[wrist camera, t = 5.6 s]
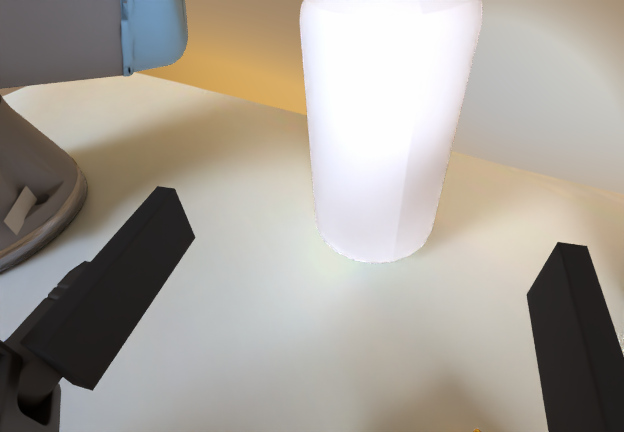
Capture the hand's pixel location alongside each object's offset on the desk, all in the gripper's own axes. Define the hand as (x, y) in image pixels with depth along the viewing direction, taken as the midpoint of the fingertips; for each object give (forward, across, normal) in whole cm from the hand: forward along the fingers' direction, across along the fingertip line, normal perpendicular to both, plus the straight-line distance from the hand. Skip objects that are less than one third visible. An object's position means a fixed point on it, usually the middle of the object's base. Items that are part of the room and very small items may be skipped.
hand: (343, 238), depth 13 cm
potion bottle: (+10, 0, -10) cm, 14 cm away
